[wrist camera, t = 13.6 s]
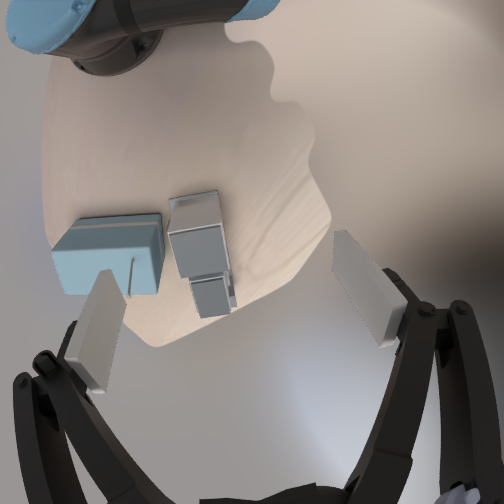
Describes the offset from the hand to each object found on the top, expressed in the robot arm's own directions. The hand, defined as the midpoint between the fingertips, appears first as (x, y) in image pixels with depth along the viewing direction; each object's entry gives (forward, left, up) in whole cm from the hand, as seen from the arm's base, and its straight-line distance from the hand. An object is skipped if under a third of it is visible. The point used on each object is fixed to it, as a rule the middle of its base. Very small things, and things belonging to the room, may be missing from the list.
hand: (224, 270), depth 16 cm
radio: (+11, -18, -31) cm, 38 cm away
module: (+18, -3, -27) cm, 32 cm away
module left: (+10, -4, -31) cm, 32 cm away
